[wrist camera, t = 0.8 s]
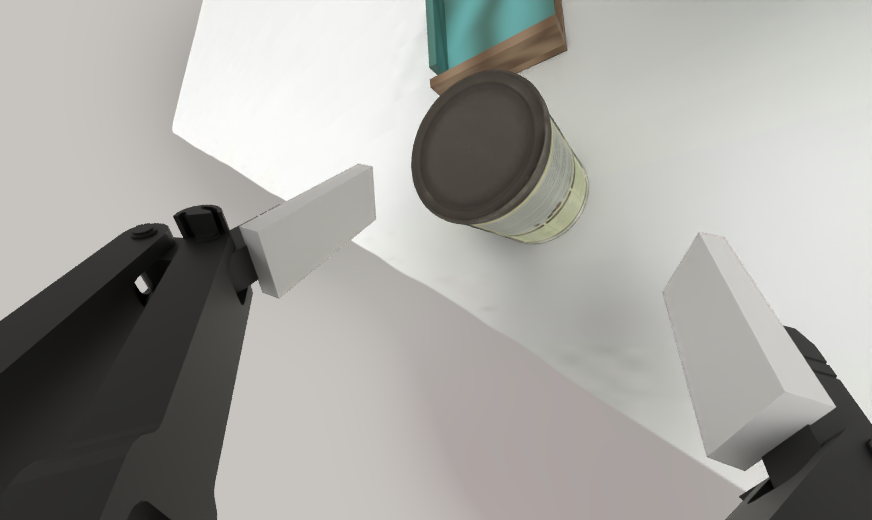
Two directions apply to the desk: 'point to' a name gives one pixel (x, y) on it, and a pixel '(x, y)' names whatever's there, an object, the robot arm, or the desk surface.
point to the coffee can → (498, 160)
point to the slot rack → (490, 36)
